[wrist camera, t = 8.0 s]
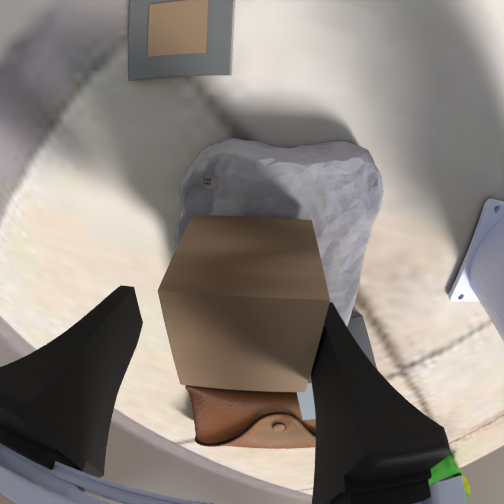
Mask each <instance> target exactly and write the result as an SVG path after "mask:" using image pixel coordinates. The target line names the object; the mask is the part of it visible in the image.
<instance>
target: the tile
mask: <svg viewBox="0 0 504 504" xmlns="http://www.w3.org/2000/svg"><path fill="white" fill-rule="evenodd" d="M234 8H235V0H130V14H129V40H128V81H130V80H139V79H149V78H161V77H175V76H198V75H232V52H233V29H234Z"/></svg>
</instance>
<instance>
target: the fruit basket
mask: <svg viewBox="0 0 504 504" xmlns="http://www.w3.org/2000/svg"><path fill="white" fill-rule="evenodd" d="M431 474H432V477H431V478H430V479H428V482H429V486H430V485H433V484H435V483H438V482H441V481H445V480H448V479H451V478H454V477H458V476H462V474H461V470H460V469H459V468H458V466H457V465H456V463H455V461H454V459H453V457H452V456H451V454H450V455H448V456H447V457H446V458H445V459H444V460H442V461H441V462H440V463H438V464H437V465H436V466H434V467H433V468H431ZM462 478H463V483H464V488H465V493H466V499H468V498H469V497H470V496H469V494H470V491H471V489H470V487H469V485H468V482H467V479H466V478H465V477H464V476H462Z"/></svg>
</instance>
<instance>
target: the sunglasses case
mask: <svg viewBox="0 0 504 504" xmlns="http://www.w3.org/2000/svg"><path fill="white" fill-rule="evenodd" d="M186 389H187V391H188V392H189V394H190V398H191V401H192V408H193V415H194V423H195V431H196V437H195V441H196V443H198V444H200V445H203V446H210V447H212V446H213V447H215V446H235V447H249V448H275V449H279V448H287V449H288V448H309V447H316V419H309V420H303V419H302V414H301V410H300V405H299V401H298V396H297V392H268V391H245V390H225V389H216V388H207V387H199V386H188V385H187V386H186Z"/></svg>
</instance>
